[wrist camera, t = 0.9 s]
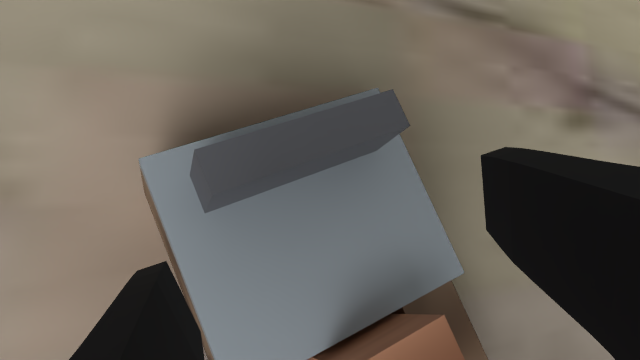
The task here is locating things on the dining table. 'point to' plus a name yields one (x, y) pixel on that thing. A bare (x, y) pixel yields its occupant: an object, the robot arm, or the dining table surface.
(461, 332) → the brown tray
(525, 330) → the dining table surface
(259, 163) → the lid
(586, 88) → the dining table surface
